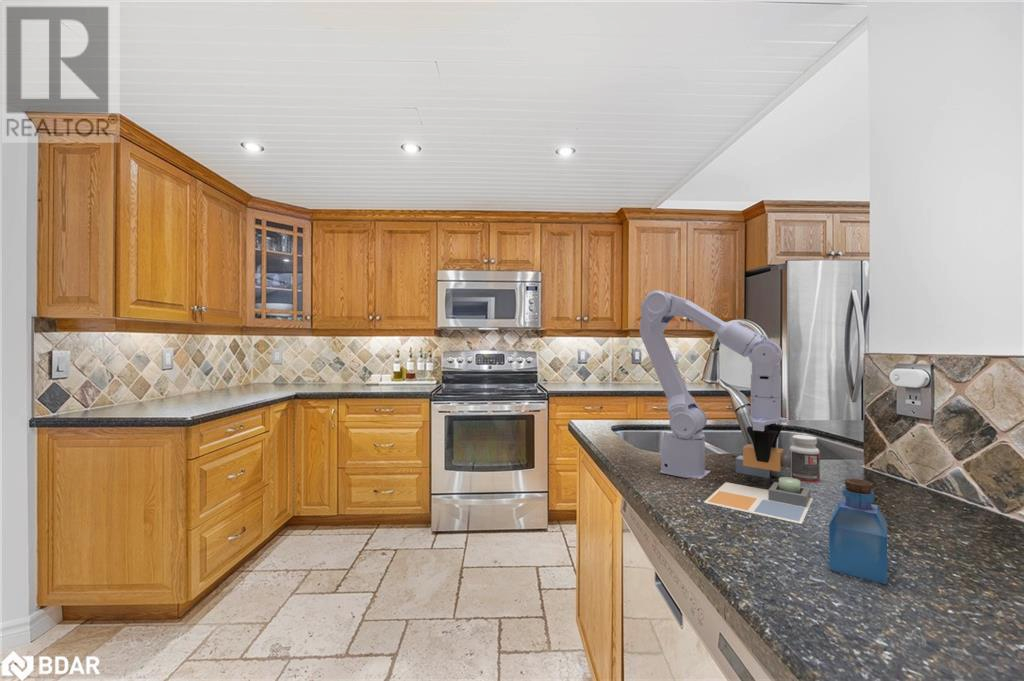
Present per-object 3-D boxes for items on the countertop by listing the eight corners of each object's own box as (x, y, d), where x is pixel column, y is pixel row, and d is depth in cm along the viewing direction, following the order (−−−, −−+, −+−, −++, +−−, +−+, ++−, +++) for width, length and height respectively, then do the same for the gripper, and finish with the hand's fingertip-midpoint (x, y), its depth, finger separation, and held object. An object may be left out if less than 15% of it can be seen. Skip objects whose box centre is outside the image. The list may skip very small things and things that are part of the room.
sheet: (703, 505, 87) (703, 502, 87) (725, 484, 99) (725, 482, 99) (801, 527, 77) (801, 523, 77) (813, 501, 89) (813, 498, 89)
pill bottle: (825, 485, 99) (825, 439, 99) (799, 485, 99) (799, 439, 99) (809, 477, 105) (809, 434, 105) (784, 477, 105) (784, 434, 105)
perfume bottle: (833, 553, 68) (833, 472, 68) (887, 566, 64) (887, 481, 64) (829, 569, 63) (829, 482, 63) (887, 584, 59) (887, 492, 59)
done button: (777, 490, 89) (777, 480, 89) (780, 485, 91) (780, 475, 91) (799, 494, 86) (799, 483, 86) (801, 489, 89) (801, 479, 89)
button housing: (768, 500, 88) (768, 489, 88) (774, 491, 93) (774, 481, 93) (806, 507, 84) (806, 496, 84) (810, 498, 89) (810, 488, 89)
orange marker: (743, 465, 99) (743, 447, 99) (747, 461, 102) (747, 443, 102) (788, 473, 94) (788, 453, 94) (791, 468, 97) (791, 450, 97)
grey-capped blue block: (735, 475, 107) (735, 458, 107) (739, 471, 110) (739, 455, 110) (776, 482, 101) (776, 464, 101) (780, 478, 105) (780, 461, 105)
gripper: (781, 401, 90) (780, 470, 90) (792, 394, 101) (791, 455, 101) (741, 398, 94) (741, 463, 95) (757, 392, 106) (756, 450, 106)
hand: (764, 459), depth 98 cm, fingers closed on orange marker, 4 cm apart
